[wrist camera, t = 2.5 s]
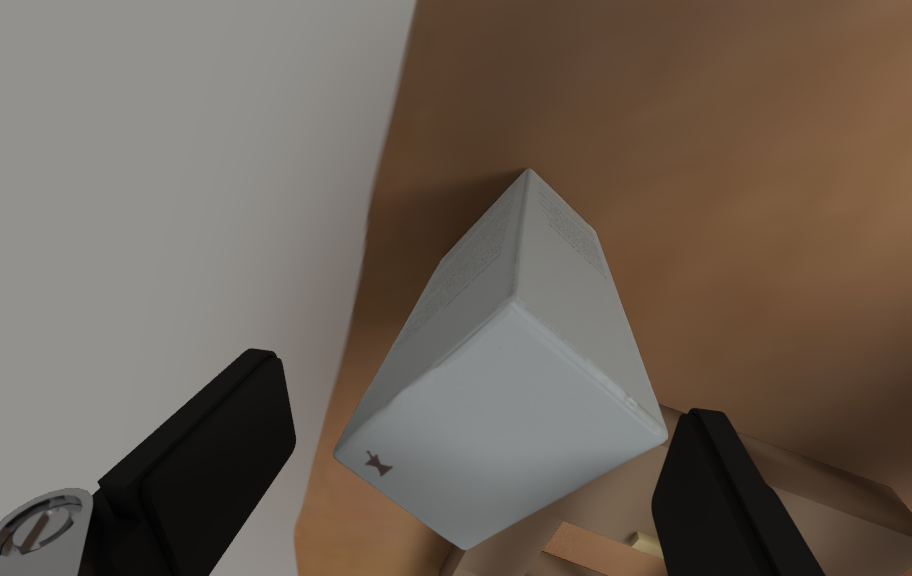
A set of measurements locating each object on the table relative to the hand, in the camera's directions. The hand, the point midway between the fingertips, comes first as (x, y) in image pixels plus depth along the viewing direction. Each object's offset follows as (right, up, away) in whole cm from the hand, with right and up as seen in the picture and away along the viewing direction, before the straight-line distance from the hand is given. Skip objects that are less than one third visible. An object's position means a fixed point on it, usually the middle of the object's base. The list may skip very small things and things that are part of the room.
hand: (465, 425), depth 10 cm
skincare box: (+3, +5, +9) cm, 11 cm away
